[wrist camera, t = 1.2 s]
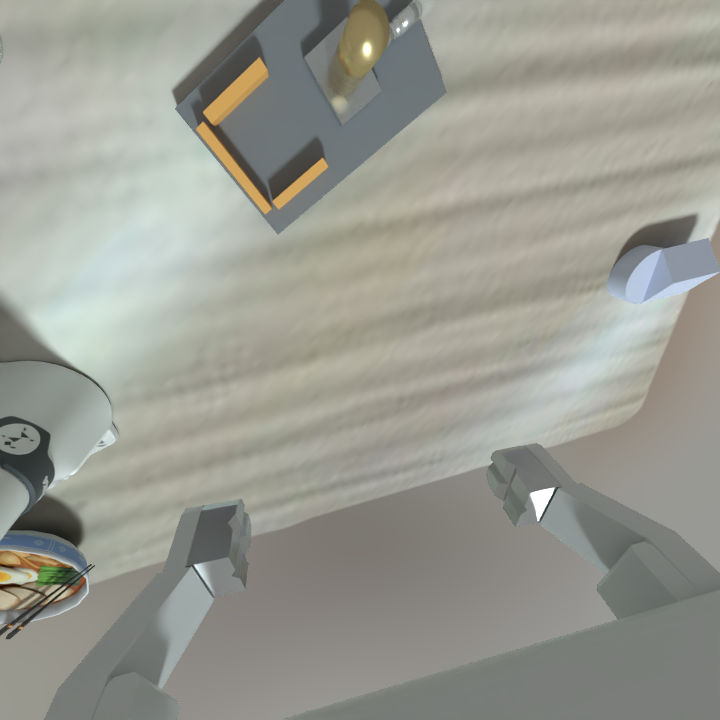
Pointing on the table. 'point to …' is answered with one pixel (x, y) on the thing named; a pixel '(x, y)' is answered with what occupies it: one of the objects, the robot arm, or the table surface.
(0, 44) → the beer glass
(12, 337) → the table surface
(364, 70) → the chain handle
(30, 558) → the ramen bowl
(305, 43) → the rail board
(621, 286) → the wedge on round base
